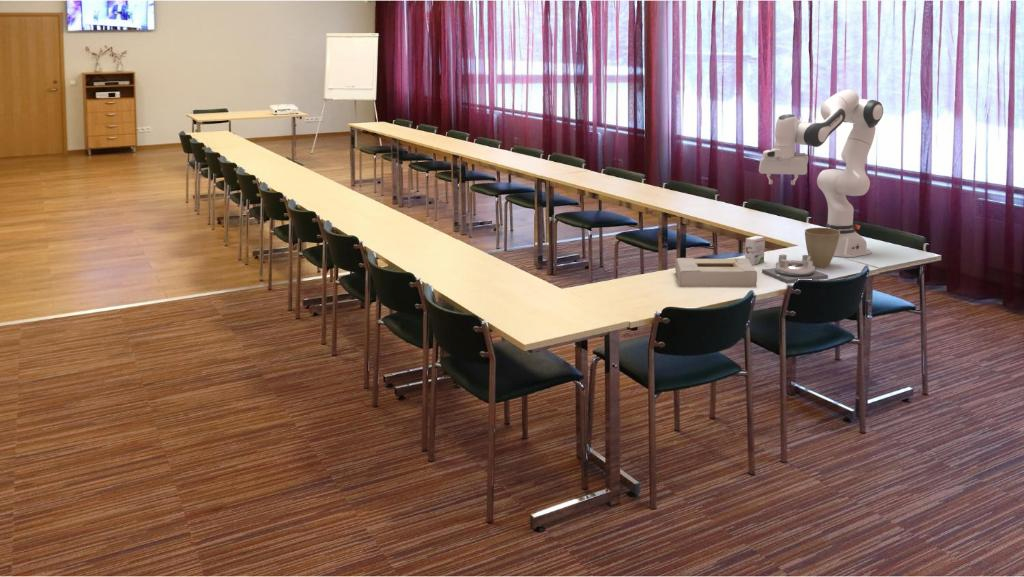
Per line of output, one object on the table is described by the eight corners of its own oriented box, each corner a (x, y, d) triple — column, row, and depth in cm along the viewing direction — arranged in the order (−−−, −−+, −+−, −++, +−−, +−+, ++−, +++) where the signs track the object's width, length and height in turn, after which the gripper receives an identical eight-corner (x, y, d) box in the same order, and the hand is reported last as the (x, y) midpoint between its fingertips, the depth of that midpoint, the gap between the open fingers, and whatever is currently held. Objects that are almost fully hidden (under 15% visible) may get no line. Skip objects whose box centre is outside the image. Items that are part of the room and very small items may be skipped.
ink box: (755, 260, 438) (756, 235, 435) (764, 262, 434) (765, 236, 431) (744, 263, 433) (745, 238, 430) (753, 265, 429) (754, 239, 426)
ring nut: (799, 265, 419) (800, 252, 418) (822, 274, 404) (823, 260, 403) (767, 269, 414) (768, 255, 413) (789, 277, 400) (790, 263, 398)
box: (748, 273, 417) (674, 273, 420) (749, 256, 415) (675, 256, 417) (757, 288, 395) (679, 288, 397) (758, 270, 393) (680, 270, 395)
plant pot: (795, 264, 429) (797, 229, 425) (822, 260, 434) (825, 226, 430) (817, 271, 416) (819, 235, 412) (844, 268, 421) (847, 232, 417)
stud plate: (801, 268, 422) (801, 264, 421) (827, 278, 404) (828, 274, 404) (761, 272, 416) (762, 269, 415) (787, 283, 398) (787, 279, 398)
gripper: (807, 152, 415) (805, 184, 419) (759, 151, 418) (757, 182, 421) (810, 154, 409) (807, 186, 413) (761, 153, 412) (758, 184, 415)
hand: (781, 184), depth 417 cm, fingers open, 8 cm apart
